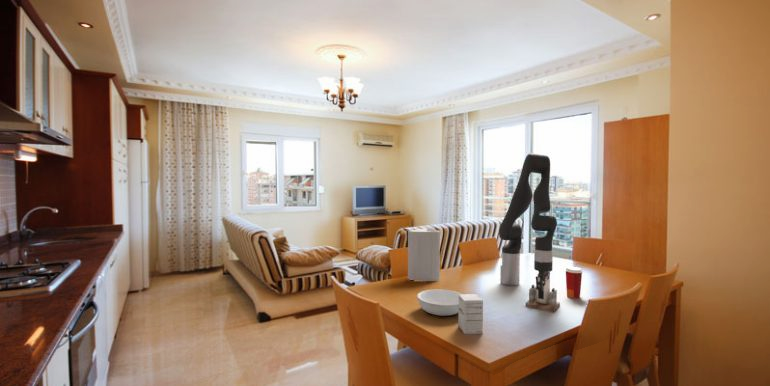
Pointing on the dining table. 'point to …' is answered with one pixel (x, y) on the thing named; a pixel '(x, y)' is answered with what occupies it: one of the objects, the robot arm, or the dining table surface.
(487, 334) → the dining table surface
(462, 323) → the supplement box
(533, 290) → the holder
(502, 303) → the dining table surface
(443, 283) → the dining table surface
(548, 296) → the roll
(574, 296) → the paper cup
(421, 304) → the serving bowl
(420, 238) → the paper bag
